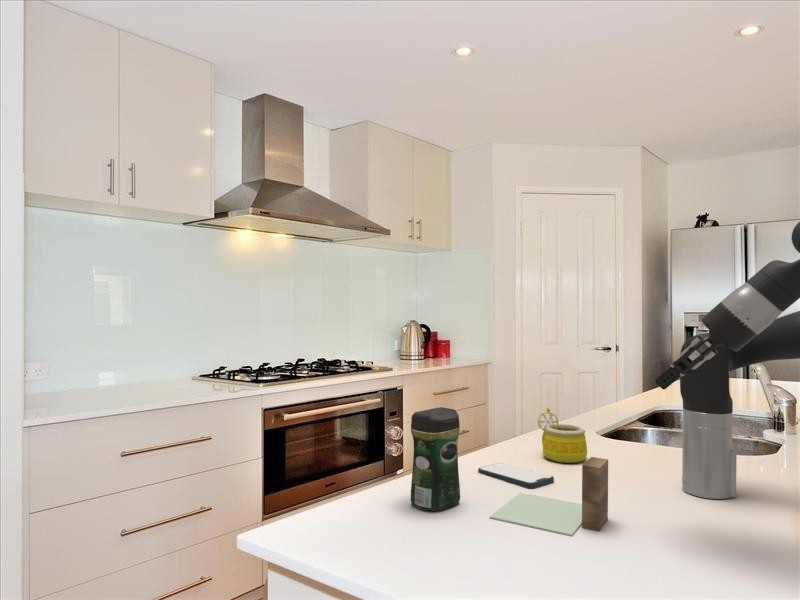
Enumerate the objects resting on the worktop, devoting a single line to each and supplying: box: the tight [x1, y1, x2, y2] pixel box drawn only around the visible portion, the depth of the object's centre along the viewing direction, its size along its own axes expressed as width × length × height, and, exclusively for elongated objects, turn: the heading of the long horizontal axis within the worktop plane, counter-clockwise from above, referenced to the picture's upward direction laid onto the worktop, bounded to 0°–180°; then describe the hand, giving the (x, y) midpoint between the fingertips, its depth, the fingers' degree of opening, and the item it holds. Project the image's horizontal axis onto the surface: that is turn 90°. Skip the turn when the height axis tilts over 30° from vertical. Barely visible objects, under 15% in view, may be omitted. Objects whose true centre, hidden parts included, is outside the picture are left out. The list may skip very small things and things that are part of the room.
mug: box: [537, 407, 588, 464], centre depth 148 cm, size 13×11×12 cm
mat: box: [489, 492, 582, 537], centre depth 109 cm, size 15×16×1 cm
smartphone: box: [477, 462, 555, 490], centre depth 132 cm, size 9×2×16 cm
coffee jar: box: [410, 406, 461, 512], centre depth 114 cm, size 10×8×19 cm
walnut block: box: [581, 456, 609, 532], centre depth 104 cm, size 3×6×11 cm, turn 148°
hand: (659, 385), depth 102 cm, fingers closed
